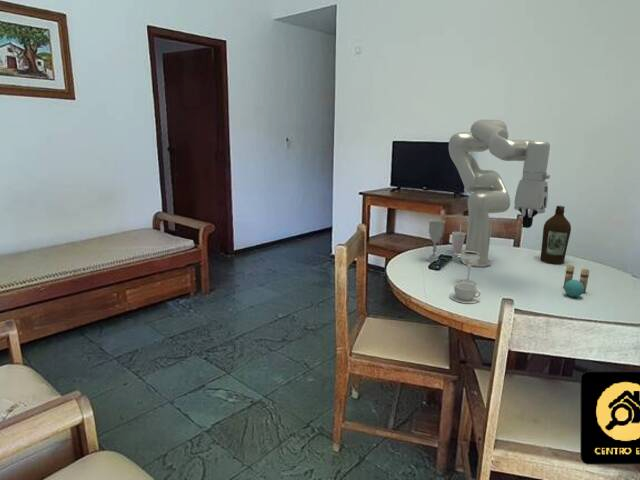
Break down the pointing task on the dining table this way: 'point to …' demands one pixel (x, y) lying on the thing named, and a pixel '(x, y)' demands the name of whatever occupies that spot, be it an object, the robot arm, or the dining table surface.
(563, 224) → the olive oil
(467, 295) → the teacup
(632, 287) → the dining table surface
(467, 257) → the wineglass
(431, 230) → the chalice
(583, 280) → the back right pin
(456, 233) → the smoothie
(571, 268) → the back left pin
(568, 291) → the ball
